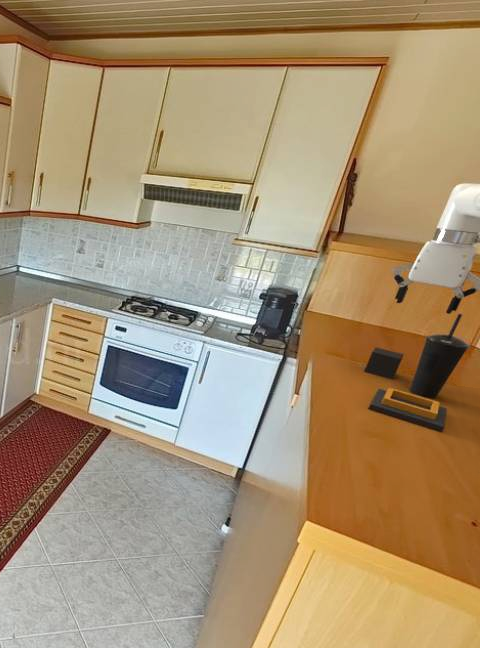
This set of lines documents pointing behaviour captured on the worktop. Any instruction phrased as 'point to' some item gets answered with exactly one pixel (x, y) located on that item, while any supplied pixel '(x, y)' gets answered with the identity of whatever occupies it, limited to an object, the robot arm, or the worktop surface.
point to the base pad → (410, 408)
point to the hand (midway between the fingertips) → (423, 307)
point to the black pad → (384, 363)
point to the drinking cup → (437, 362)
